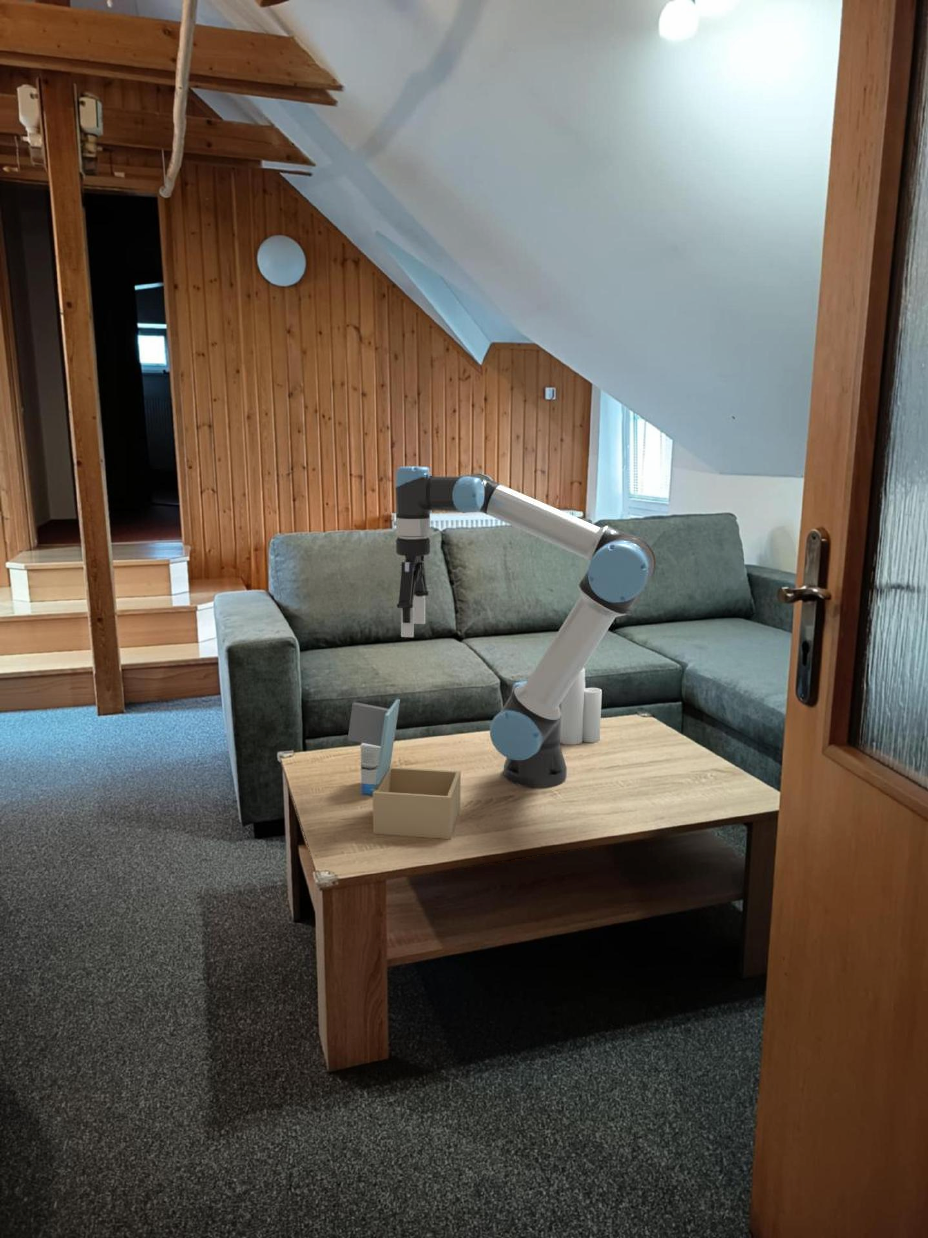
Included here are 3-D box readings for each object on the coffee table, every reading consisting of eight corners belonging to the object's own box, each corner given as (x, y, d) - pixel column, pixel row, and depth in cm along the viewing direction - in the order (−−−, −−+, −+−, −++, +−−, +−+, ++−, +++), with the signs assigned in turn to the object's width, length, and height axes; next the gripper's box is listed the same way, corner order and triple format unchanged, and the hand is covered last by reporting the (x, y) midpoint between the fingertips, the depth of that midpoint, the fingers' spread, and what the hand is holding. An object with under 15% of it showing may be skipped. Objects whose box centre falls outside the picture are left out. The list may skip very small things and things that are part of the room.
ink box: (381, 796, 194) (380, 747, 191) (360, 794, 195) (359, 745, 192) (391, 781, 202) (391, 734, 199) (371, 779, 203) (371, 732, 200)
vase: (565, 746, 225) (568, 673, 221) (553, 737, 232) (555, 666, 228) (603, 741, 230) (606, 669, 225) (589, 732, 236) (592, 662, 232)
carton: (460, 810, 187) (460, 771, 185) (450, 839, 173) (450, 797, 171) (388, 805, 189) (388, 767, 187) (373, 833, 175) (372, 792, 173)
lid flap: (400, 699, 182) (360, 691, 183) (388, 715, 171) (346, 707, 172) (390, 769, 185) (351, 761, 186) (378, 790, 175) (336, 781, 176)
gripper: (407, 530, 202) (408, 618, 207) (383, 543, 178) (384, 642, 183) (439, 531, 201) (439, 619, 206) (418, 544, 177) (419, 643, 182)
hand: (413, 630), depth 194 cm, fingers open, 13 cm apart
